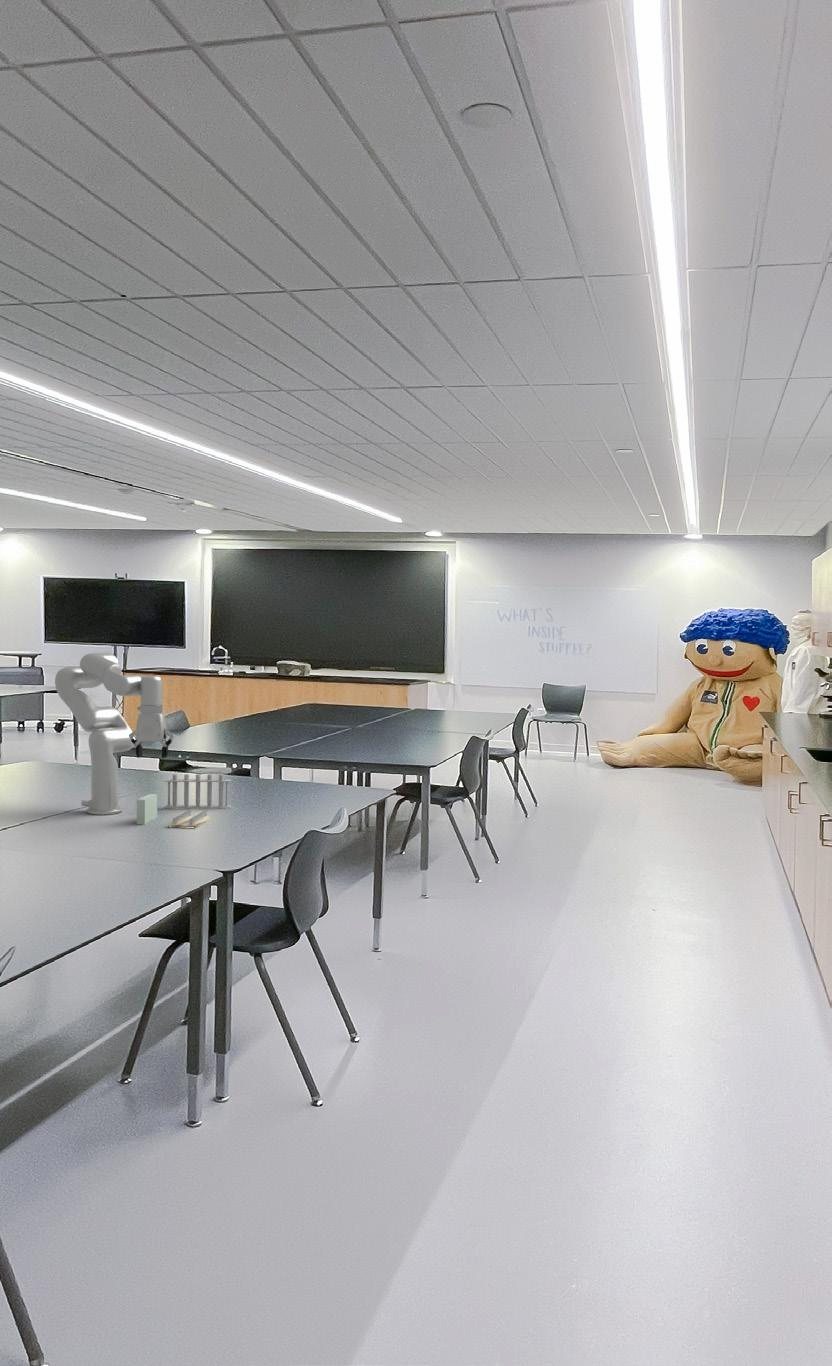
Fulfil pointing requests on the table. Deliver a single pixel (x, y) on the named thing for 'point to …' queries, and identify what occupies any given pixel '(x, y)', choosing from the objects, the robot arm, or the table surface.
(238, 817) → the table surface
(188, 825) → the bottom track
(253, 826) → the table surface
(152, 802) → the door panel
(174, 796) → the test tube rack
